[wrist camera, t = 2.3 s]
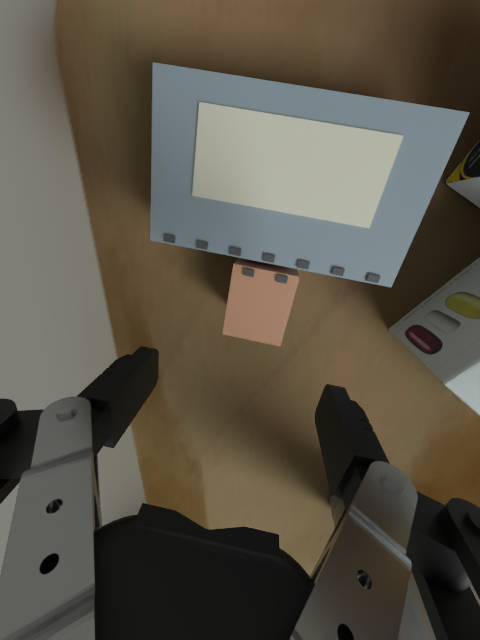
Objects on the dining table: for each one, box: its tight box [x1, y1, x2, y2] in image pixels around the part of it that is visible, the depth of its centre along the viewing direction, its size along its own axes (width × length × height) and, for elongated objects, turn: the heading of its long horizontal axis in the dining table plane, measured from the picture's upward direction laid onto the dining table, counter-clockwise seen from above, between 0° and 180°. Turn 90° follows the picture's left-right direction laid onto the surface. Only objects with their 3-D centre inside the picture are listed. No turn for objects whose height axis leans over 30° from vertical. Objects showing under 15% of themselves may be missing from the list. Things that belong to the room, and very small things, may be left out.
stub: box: [222, 258, 300, 346], centre depth 21 cm, size 5×6×6 cm
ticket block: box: [150, 62, 470, 287], centre depth 18 cm, size 18×10×6 cm, turn 80°
